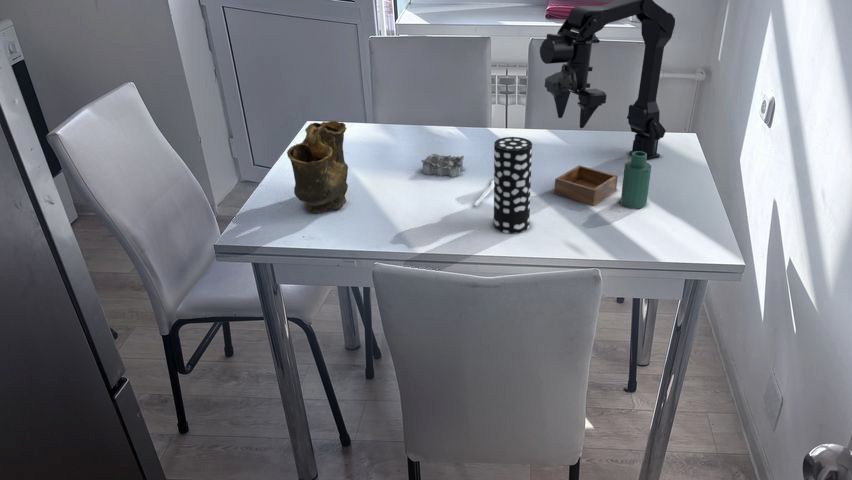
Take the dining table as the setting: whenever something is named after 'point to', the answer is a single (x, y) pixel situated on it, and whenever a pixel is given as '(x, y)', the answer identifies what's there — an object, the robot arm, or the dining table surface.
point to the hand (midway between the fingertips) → (570, 122)
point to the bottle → (636, 181)
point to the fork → (485, 193)
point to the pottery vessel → (320, 167)
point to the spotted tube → (512, 184)
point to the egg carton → (443, 165)
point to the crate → (586, 185)
